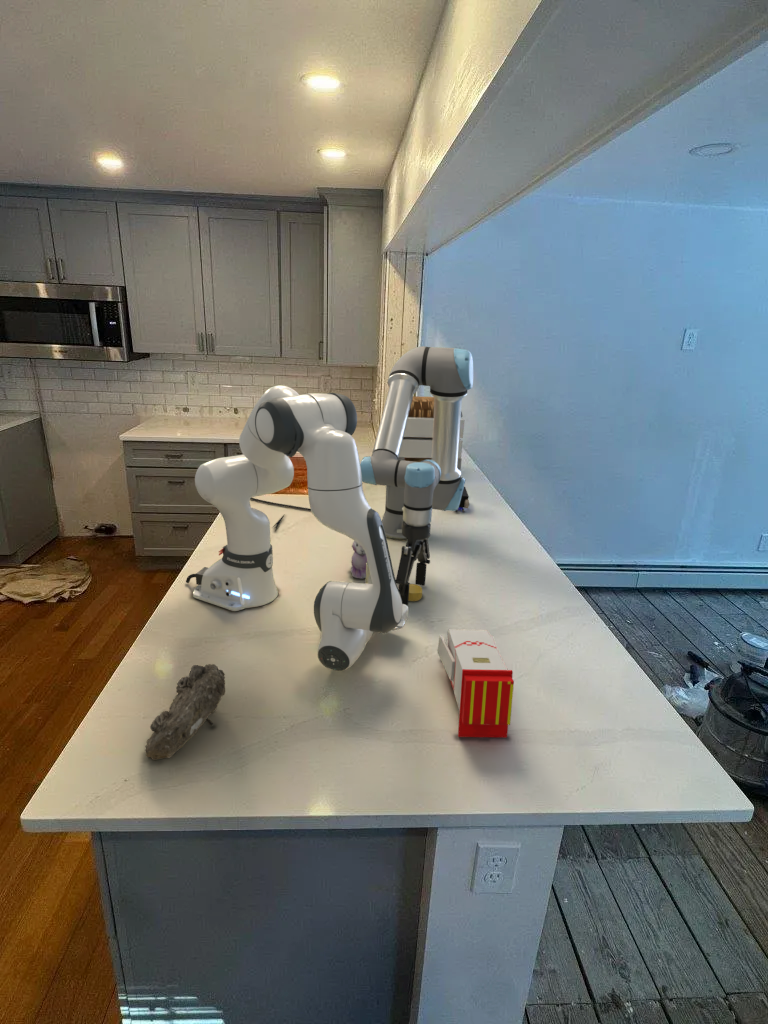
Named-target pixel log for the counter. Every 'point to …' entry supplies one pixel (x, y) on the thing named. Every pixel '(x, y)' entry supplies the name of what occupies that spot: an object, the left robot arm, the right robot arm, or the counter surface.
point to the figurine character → (464, 500)
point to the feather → (278, 523)
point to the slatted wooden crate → (422, 432)
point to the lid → (415, 592)
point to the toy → (478, 682)
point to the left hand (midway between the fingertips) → (375, 595)
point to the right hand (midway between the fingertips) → (411, 594)
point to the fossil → (186, 710)
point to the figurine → (358, 561)
